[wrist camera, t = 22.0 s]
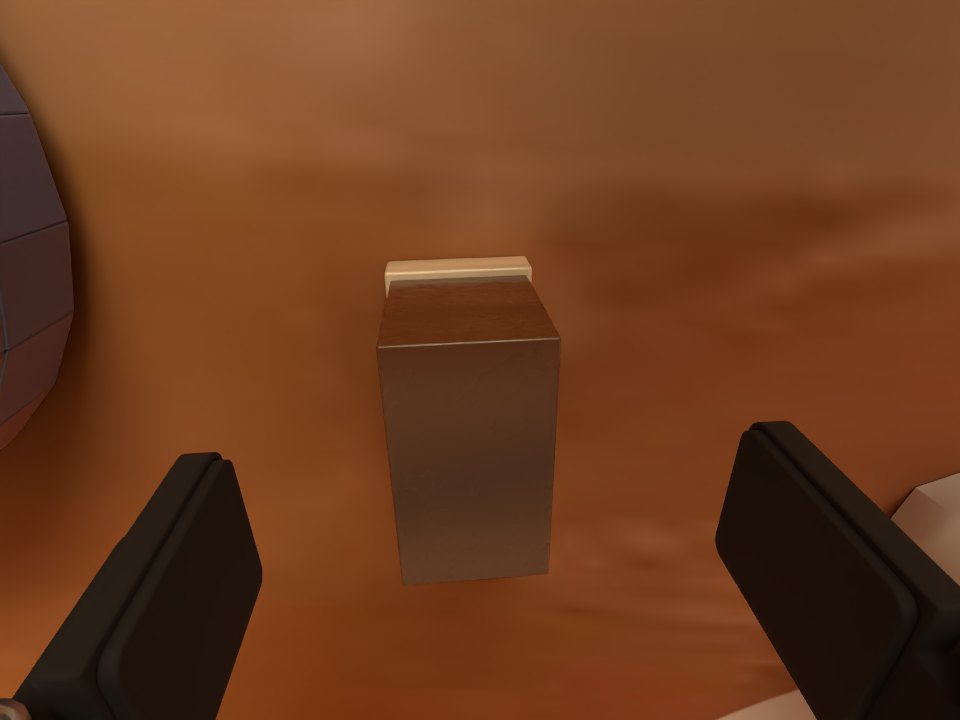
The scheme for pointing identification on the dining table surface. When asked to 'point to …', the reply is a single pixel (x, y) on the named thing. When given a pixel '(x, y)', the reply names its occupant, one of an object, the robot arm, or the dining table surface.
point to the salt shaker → (935, 522)
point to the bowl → (29, 267)
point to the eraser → (469, 417)
